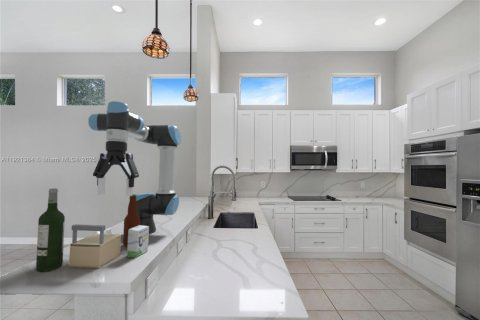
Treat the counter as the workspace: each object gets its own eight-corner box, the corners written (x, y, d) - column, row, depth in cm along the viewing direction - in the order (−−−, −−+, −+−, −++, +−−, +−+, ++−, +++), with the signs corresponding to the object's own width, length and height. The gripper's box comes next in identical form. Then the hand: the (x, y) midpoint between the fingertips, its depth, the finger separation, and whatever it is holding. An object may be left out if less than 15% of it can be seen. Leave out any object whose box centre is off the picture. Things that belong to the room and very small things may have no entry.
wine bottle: (30, 269, 86) (34, 189, 87) (54, 262, 93) (57, 187, 95) (44, 273, 83) (48, 190, 85) (67, 265, 91) (70, 188, 92)
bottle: (140, 242, 120) (142, 193, 121) (137, 247, 113) (139, 195, 114) (125, 243, 118) (127, 194, 119) (121, 248, 111) (123, 195, 112)
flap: (94, 235, 103) (95, 218, 104) (121, 236, 103) (121, 219, 103) (69, 245, 89) (70, 225, 90) (100, 246, 89) (101, 226, 89)
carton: (94, 253, 103) (94, 235, 103) (120, 254, 102) (120, 236, 103) (69, 267, 89) (70, 246, 89) (99, 268, 88) (100, 247, 89)
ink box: (138, 250, 109) (139, 224, 109) (148, 251, 108) (149, 225, 108) (126, 256, 100) (127, 229, 101) (136, 258, 99) (137, 230, 100)
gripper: (83, 140, 92) (81, 194, 91) (136, 139, 85) (134, 197, 84) (100, 142, 99) (98, 192, 98) (149, 141, 92) (147, 195, 91)
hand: (114, 195), depth 91 cm, fingers open, 13 cm apart
